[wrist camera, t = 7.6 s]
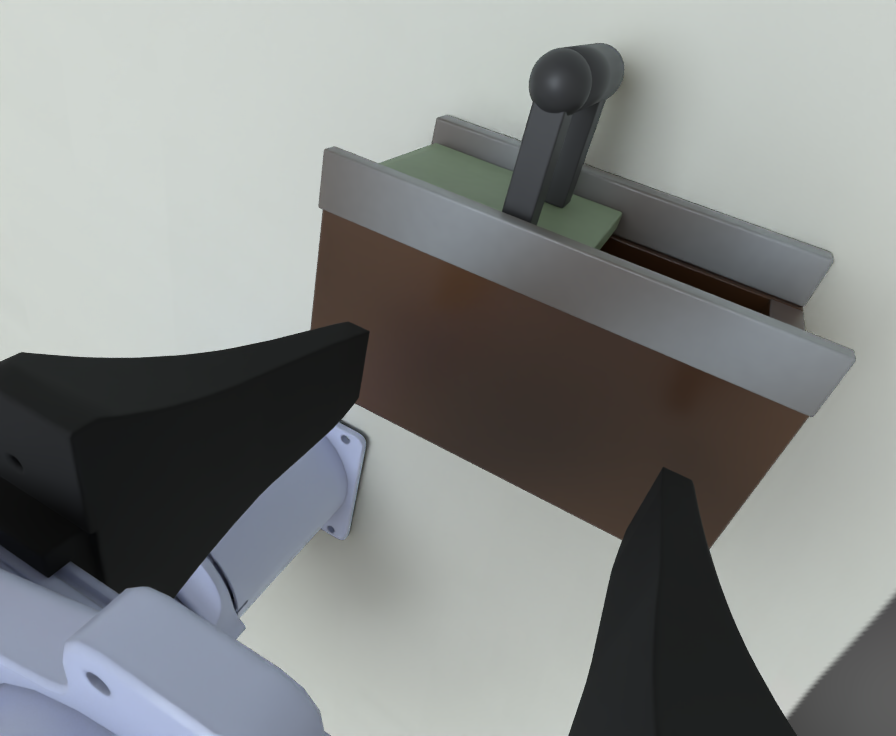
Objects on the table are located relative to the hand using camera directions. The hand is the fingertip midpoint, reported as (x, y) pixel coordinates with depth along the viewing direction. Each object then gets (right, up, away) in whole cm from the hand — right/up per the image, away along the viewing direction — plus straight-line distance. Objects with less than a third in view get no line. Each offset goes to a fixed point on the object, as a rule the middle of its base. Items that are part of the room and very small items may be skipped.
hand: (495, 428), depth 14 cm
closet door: (+2, +9, +5) cm, 10 cm away
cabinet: (+4, +4, +8) cm, 10 cm away
